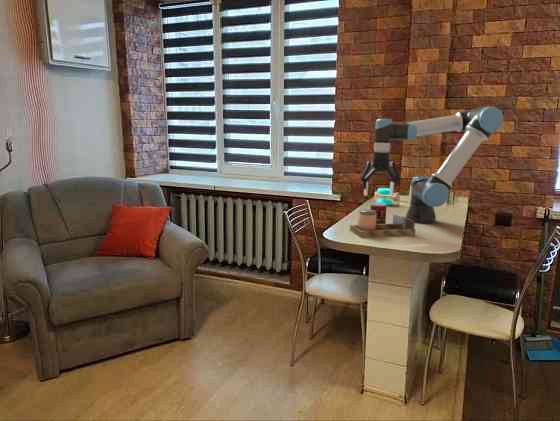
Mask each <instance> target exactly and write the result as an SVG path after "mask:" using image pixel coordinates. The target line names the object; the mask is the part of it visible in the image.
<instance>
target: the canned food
mask: <svg viewBox="0 0 560 421" xmlns="http://www.w3.org/2000/svg"><path fill="white" fill-rule="evenodd" d="M387 207H388V206H387V204H385V203H378V202H371V203H370V209H369V210H375V211H376V214H377V216H376V224H386V219H387V218H386V217H387Z"/></svg>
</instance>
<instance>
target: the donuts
mask: <svg viewBox="0 0 560 421" xmlns="http://www.w3.org/2000/svg"><path fill="white" fill-rule="evenodd" d="M376 191H377V194H378V195H381V196H390V195H389V194H390V187H389V188H386V187H380V188H377V190H376ZM376 202H378V203H385V204H387V207H388V206H392V205H393V200H392V199H390V198H384V197H381V198H378V199H377V200H376Z"/></svg>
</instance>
